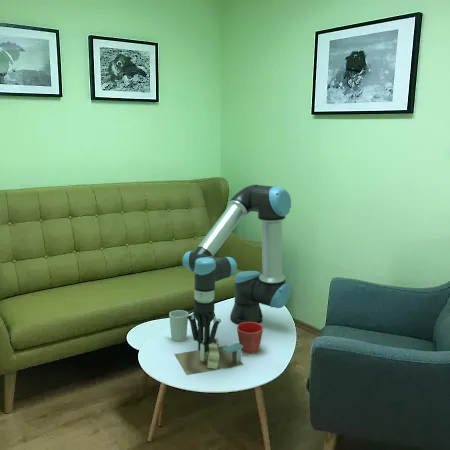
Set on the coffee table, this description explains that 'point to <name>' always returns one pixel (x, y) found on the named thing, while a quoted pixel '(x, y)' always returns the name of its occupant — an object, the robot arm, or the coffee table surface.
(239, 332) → the flower pot
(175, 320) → the cup
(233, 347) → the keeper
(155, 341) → the coffee table surface
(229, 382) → the coffee table surface
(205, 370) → the board
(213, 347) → the link
